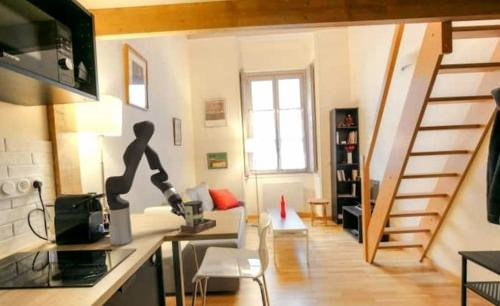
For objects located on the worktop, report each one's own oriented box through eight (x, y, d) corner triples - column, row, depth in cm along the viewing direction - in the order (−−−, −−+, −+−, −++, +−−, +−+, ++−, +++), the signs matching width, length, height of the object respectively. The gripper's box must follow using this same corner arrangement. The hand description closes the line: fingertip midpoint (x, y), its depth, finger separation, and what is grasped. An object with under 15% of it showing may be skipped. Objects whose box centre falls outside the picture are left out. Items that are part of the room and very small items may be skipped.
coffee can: (205, 224, 163) (203, 199, 163) (202, 229, 153) (200, 203, 152) (188, 225, 163) (186, 201, 163) (183, 230, 153) (181, 204, 152)
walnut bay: (194, 233, 146) (194, 227, 146) (181, 230, 152) (180, 225, 152) (216, 225, 158) (215, 219, 158) (202, 223, 165) (202, 218, 165)
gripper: (165, 195, 161) (181, 218, 154) (184, 191, 171) (199, 212, 164) (161, 203, 164) (176, 226, 157) (179, 199, 175) (194, 220, 168)
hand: (188, 219), depth 161 cm, fingers closed
